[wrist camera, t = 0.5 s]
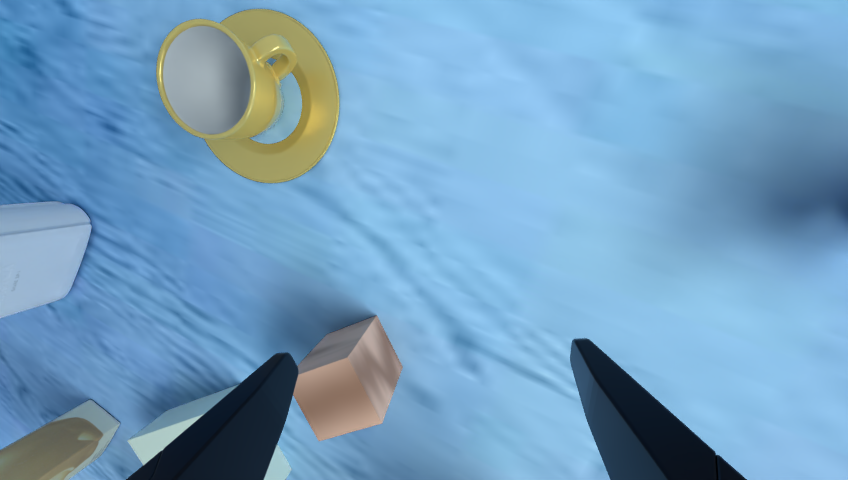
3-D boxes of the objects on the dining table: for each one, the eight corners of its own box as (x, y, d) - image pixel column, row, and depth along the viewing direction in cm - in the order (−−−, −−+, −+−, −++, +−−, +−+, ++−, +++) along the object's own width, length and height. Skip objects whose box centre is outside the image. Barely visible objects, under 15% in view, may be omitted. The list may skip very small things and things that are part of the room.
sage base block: (293, 465, 30) (267, 508, 26) (219, 485, 32) (184, 528, 28) (244, 380, 29) (209, 412, 25) (170, 407, 31) (127, 440, 27)
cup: (250, 209, 25) (191, 218, 20) (168, 73, 24) (81, 43, 18) (371, 132, 22) (339, 119, 17) (285, -26, 21) (222, -95, 16)
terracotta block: (402, 366, 25) (382, 423, 20) (352, 383, 26) (319, 441, 21) (376, 315, 25) (347, 357, 19) (326, 334, 26) (284, 379, 20)
